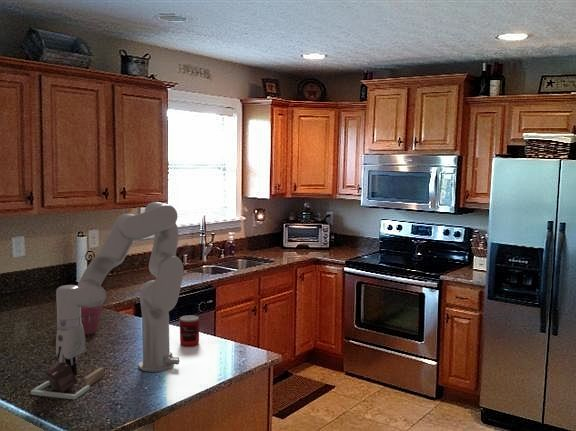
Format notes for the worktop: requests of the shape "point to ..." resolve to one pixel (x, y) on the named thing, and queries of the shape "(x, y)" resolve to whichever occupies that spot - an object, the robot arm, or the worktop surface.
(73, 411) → the worktop surface
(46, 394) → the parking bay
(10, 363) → the worktop surface
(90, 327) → the plant pot
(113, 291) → the worktop surface
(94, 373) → the channel
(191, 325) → the canned food
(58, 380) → the box
